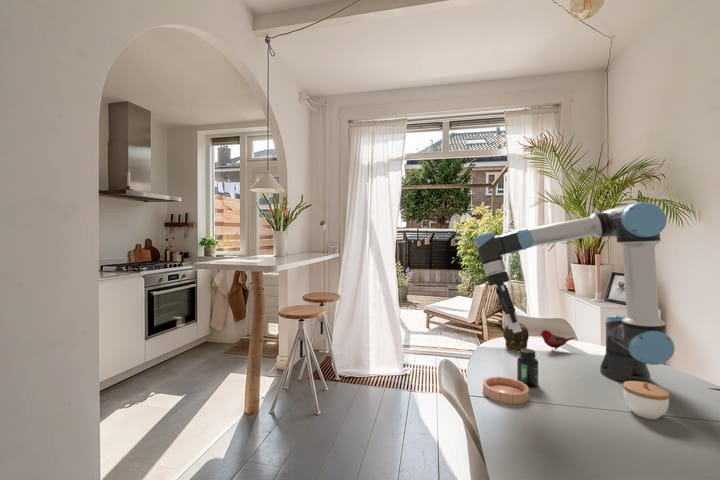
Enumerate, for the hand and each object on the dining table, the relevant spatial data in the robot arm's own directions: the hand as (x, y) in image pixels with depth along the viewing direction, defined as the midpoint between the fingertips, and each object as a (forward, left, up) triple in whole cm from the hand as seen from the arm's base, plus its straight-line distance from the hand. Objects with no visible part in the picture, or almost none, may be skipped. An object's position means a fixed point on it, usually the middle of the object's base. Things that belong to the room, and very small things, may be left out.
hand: (515, 330), depth 124 cm
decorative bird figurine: (+5, -51, -19) cm, 55 cm away
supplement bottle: (-3, -3, -19) cm, 20 cm away
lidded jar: (-35, -9, -19) cm, 41 cm away
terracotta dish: (-2, +11, -19) cm, 22 cm away
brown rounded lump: (+19, -39, -19) cm, 48 cm away
